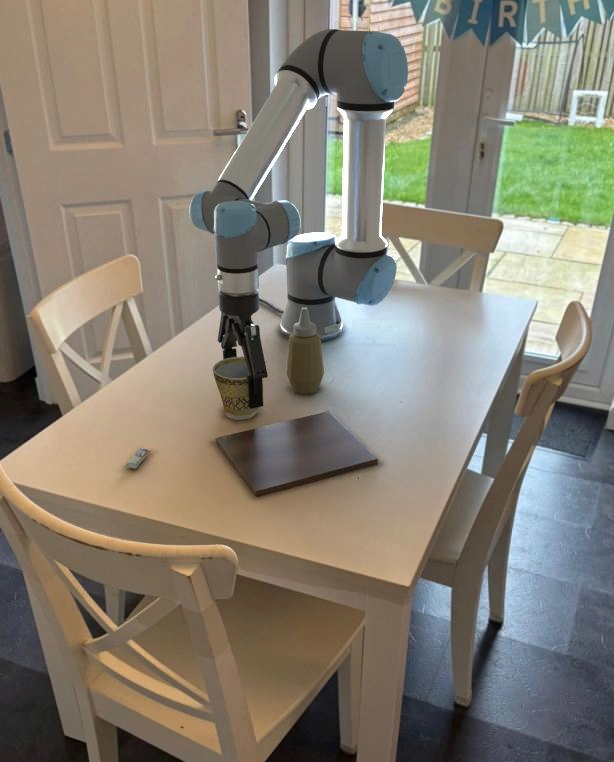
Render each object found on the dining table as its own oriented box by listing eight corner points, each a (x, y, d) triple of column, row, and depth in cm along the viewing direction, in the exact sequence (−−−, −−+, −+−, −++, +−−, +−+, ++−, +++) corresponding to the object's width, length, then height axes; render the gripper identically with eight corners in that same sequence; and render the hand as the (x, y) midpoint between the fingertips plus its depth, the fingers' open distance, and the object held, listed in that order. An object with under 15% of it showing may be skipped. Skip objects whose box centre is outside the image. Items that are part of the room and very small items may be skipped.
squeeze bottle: (330, 384, 169) (331, 304, 159) (314, 400, 163) (314, 318, 153) (296, 377, 172) (295, 298, 162) (279, 392, 166) (277, 311, 156)
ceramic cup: (246, 429, 153) (243, 383, 148) (206, 415, 158) (202, 370, 152) (283, 402, 162) (282, 358, 157) (244, 390, 167) (242, 347, 161)
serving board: (215, 443, 149) (215, 437, 148) (328, 416, 158) (328, 410, 157) (256, 497, 134) (255, 491, 133) (377, 464, 143) (378, 458, 142)
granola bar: (135, 471, 140) (135, 466, 140) (124, 469, 141) (123, 464, 140) (152, 452, 146) (151, 447, 145) (140, 450, 146) (140, 445, 146)
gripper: (197, 272, 154) (204, 371, 165) (244, 315, 135) (249, 423, 147) (233, 267, 156) (238, 365, 168) (284, 309, 138) (285, 415, 150)
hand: (243, 392), depth 158 cm, fingers open, 13 cm apart
